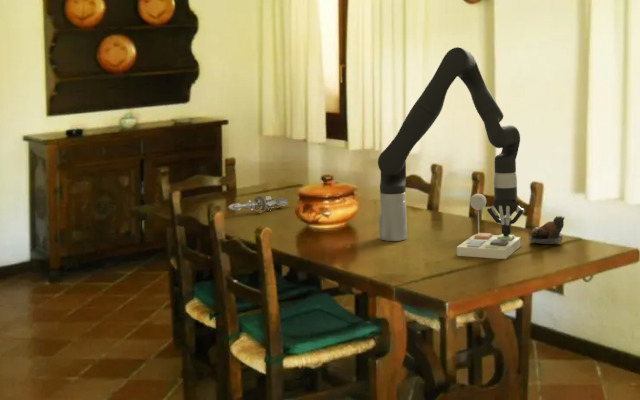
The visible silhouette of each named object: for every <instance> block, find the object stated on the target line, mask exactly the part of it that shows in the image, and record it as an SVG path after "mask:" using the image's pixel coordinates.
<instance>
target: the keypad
mask: <svg viewBox="0 0 640 400" xmlns="http://www.w3.org/2000/svg"><path fill="white" fill-rule="evenodd" d="M476 234H477V233H475V234H473V235H471V237H469V238H467V239H466V240H465V241H463V242H462V243H460V244H458V246H456V256H458V257H470V258H471V257H472V258H486V259H498V260H500V259H501V260H506V259H508V258H509V257H510V255H512V254H513V253H515V252H516V250H518V249H520V247H521V246H522V236H515V235H514V239H513V240H512V241H508V244H507V245H506V246H495V245H490V242H491V241H493V240H494V239H497V237H498V236H499V235H500V234H499V235H497V234H495V235H494V234H492V237H491V238H490V239H489V240H487V239H475V235H476ZM471 240H475V241H485V243H483V244H482V245H480V244H467V243H468V242H470V241H471Z"/></svg>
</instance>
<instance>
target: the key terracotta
mask: <svg viewBox="0 0 640 400" xmlns="http://www.w3.org/2000/svg"><path fill="white" fill-rule="evenodd" d="M475 234H476V235H475ZM475 234H474V235H475V239H487V240H489V239H490V238H491V237H492V235H493V233H490V232H489V233H488V232H479V233H478V232H477V233H475Z"/></svg>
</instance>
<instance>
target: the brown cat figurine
mask: <svg viewBox="0 0 640 400" xmlns="http://www.w3.org/2000/svg"><path fill="white" fill-rule="evenodd" d="M564 220H565V216H562V215H556V216H555V217H554V219H553V220H550V221H547V222H545V223H544V224H543V225H541V226H536V227H534V228H533V229H532V230H531V232H530V236H529V241H530V242H532V243H535V244H540V245H559V244H562V241H563V240H564V238H563V234H562V233H561V232H562V231H563V228H564V226H565V225H564V223H565V221H564Z"/></svg>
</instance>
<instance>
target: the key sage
mask: <svg viewBox="0 0 640 400" xmlns="http://www.w3.org/2000/svg"><path fill="white" fill-rule="evenodd" d="M514 236H515V234H509V236H504V234H502V233H501V234H499V236H498V237H497V239H499V240H508V241H512V240H513V239H514Z"/></svg>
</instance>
